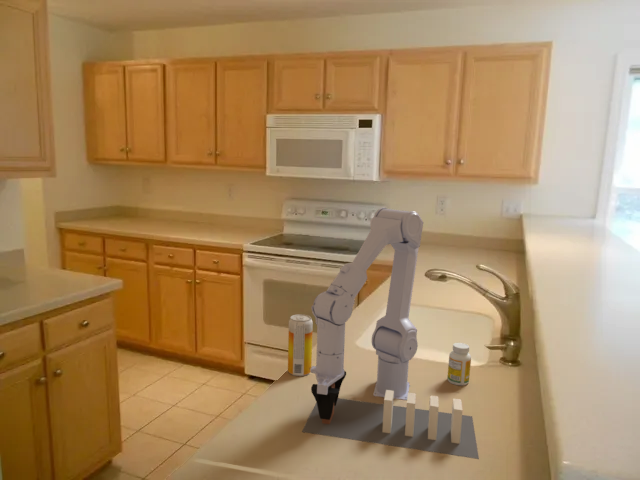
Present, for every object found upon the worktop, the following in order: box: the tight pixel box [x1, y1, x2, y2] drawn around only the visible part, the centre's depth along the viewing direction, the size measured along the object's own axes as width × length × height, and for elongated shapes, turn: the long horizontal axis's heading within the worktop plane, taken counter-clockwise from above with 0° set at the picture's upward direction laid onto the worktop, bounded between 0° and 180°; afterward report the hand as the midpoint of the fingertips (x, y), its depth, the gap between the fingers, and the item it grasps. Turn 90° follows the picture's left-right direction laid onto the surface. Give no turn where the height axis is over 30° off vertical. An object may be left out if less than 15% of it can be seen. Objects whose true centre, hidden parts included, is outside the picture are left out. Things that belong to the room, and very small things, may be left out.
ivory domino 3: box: [428, 395, 440, 440], centre depth 98 cm, size 2×4×7 cm, turn 167°
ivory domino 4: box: [451, 397, 463, 444], centre depth 97 cm, size 2×4×7 cm, turn 167°
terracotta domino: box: [322, 383, 335, 424], centre depth 102 cm, size 2×4×7 cm, turn 167°
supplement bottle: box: [447, 342, 472, 386], centre depth 123 cm, size 5×5×10 cm
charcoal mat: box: [301, 397, 480, 460], centre depth 102 cm, size 16×34×1 cm, turn 77°
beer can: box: [287, 314, 314, 377], centre depth 125 cm, size 6×6×15 cm
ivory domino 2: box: [405, 392, 417, 437], centre depth 99 cm, size 2×4×7 cm, turn 167°
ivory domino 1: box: [382, 390, 394, 433], centre depth 100 cm, size 2×4×7 cm, turn 167°
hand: (328, 411), depth 103 cm, fingers open, 5 cm apart
